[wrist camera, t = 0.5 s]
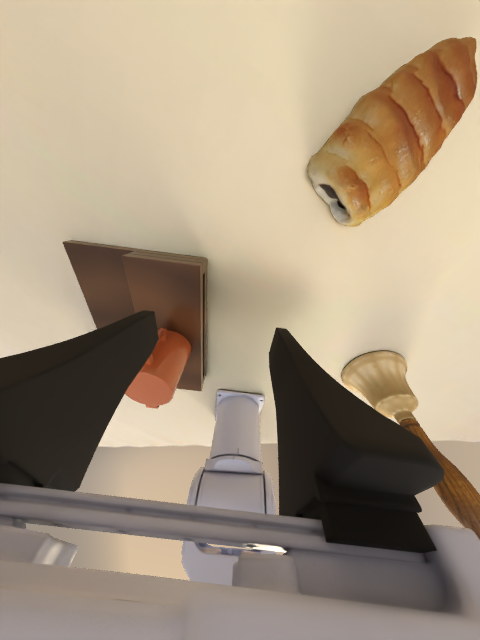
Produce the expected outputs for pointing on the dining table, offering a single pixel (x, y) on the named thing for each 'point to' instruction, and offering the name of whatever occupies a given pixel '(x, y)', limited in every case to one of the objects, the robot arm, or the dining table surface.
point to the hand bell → (411, 425)
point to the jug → (161, 370)
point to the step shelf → (147, 293)
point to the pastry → (395, 132)
